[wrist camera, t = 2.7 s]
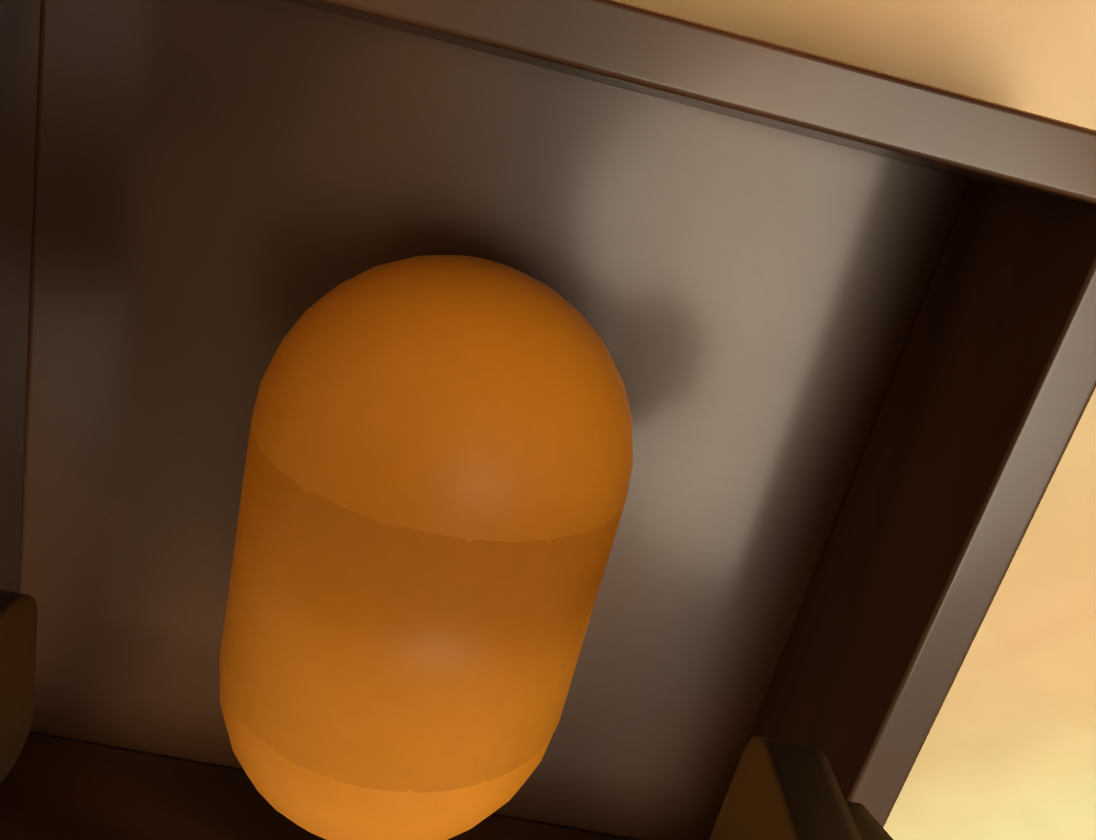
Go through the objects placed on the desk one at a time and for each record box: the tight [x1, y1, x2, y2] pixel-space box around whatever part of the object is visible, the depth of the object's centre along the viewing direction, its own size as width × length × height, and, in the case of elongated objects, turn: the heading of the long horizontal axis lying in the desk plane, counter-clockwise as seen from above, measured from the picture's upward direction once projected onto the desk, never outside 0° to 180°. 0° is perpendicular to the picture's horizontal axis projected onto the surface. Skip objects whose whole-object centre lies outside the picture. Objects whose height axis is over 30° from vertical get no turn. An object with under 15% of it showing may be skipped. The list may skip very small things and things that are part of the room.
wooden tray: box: [0, 0, 1096, 840], centre depth 15 cm, size 17×17×4 cm
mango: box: [220, 255, 633, 840], centre depth 14 cm, size 6×10×6 cm, turn 166°
